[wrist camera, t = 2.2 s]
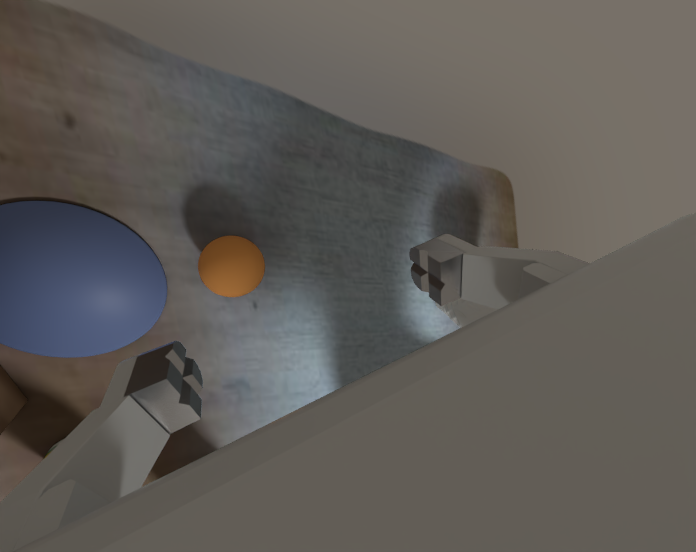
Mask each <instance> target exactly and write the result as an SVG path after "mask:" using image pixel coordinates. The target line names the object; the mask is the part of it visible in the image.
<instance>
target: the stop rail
mask: <svg viewBox="0 0 696 552" xmlns="http://www.w3.org/2000/svg"><path fill="white" fill-rule="evenodd" d="M27 401H28V400H27V399H26V397H25V396H24V395H23V393H22V392H21V391H20V390H19V388H18V387H17V386H16V385H15V383H14V382H13V381H12V379H11V378H10V377H9V376H8V374H7V373H6V372H5V370H4V369H3V368H2V367H1V365H0V434H1V433H2V432H3V431H4V430H5V428H6V427H7V426H8V425H9V423H10V422H11V421H12V420H13V418H14V417H15V416H16V415H17V413H18V412H19V411H20V410H21V408H22V407H23V406H24V405H25V403H26V402H27Z"/></svg>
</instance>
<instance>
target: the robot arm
mask: <svg viewBox="0 0 696 552" xmlns="http://www.w3.org/2000/svg"><path fill="white" fill-rule="evenodd" d="M410 259H411V260H412V261H413V262H414V263H413V265H412V267H411V276H412V279H413V281H414V283H415V285H416V286H417V287H418V288H419V289H420V290H421V291H425V292H429V297H430V298H431V299H433V300H434V301H435V302H436V303H438V304H439V305H440V306H443V305H446V304H448V303H450V302H453V301H455V300H457V299H459V298H461V299H463V300H467V301H470V302H474V303H477V304H480V305H484V306H487V307H490V308H494V309H497V310H496V311H494V312H492V313H490V314H488V315H486V316H484V317H482V318H480V319H478V320H476V321H474V322H472V323H470V324H468V325H466V326H464V327H462V328H460V329H458V330H456V331H454V332H452V333H450V334H448V335H446V336H444V337H442V338H440V339H438V340H436V341H434V342H432V343H430V344H428V345H426V346H424V347H422V348H420V349H418V350H416V351H414V352H412V353H410V354H408V355H406V356H404V357H402V358H400V359H398V360H396V361H394V362H392V363H390V364H388V365H386V366H384V367H382V368H380V369H378V370H376V371H374V372H372V373H370V374H368V375H366V376H364V377H362V378H360V379H358V380H356V381H353V382H351V383H349V384H347V385H345V386H343V387H341V388H339V389H337V390H335V391H333V392H331V393H329V394H327V395H325V396H323V397H321V398H319V399H317V400H315V401H313V402H311V403H309V404H307V405H305V406H303V407H301V408H299V409H297V410H295V411H293V412H291V413H289V414H287V415H285V416H283V417H281V418H279V419H278V420H276V421H274V422H272V423H270V424H268V425H266V426H264V427H262V428H260V429H258V430H256V431H254V432H252V433H250V434H248V435H246V436H244V437H242V438H240V439H238V440H236V441H234V442H232V443H230V444H228V445H226V446H224V447H222V448H220V449H218V450H216V451H214V452H212V453H210V454H208V455H206V456H204V457H202V458H200V459H198V460H196V461H194V462H192V463H190V464H188V465H186V466H184V467H182V468H180V469H177V470H175V471H173V472H171V473H169V474H167V475H165V476H163V477H161V478H159V479H157V480H155V481H153V482H151V483H149V484H147V485H145V486H143V487H141V486H142V485H143V483H144V481H145V479H146V477H147V476H148V474H149V472H150V470H151V469H152V467H153V465H154V463H155V462H156V460H157V458H158V456H159V455H160V453H161V451H162V449H163V448H164V446H165V444H166V442H167V440H168V439H169V437H170V435H169V434H171V433H173V432H175V431H177V430H179V429H181V428H183V427H185V426H187V425H189V424H191V423H193V422H195V421H197V420H199V419H201V407H202V399H201V398H200V397H199V395H198V394H199V392H200V391H201V389H202V388H203V380H202V375H201V371H200V369H199V367H198V365H197V364H196V362H195V361H194V359H190V358H187V357H186V349H185V347H184V346H183V345H182V344H181V342H179V341H174V342H171V343H169V344H166V345H163V346H161V347H158V348H155V349H153V350H150V351H147V352H145V353H142V354H140V355H136V356H134V357H131V358H129V359H126V360H124V361H122V362H120V363H119V364H118V365H117V367H116V370H115V372H114V375H113V377H112V379H111V382H110V384H109V387H108V389H107V391H106V394H105V396H104V398H103V401H102V403H101V406H100V408H98V409H95V410H93V411H92V412H91V413H90V414H89V415H88V416H87V417H86V418H85V419H84V420H83V421H82V422H81V423H80V424H79V425H78V426H77V427H76V428H75V429H74V430H73V431H72V432H71V433H70V434H69V435H68V436H67V437H66V438H65V439H64V440H63V441H62V442H61V443H60V444H59V445H58V446H57V447H56V448H55V449H54V450H53V451H52V452H51V453H50V454H49V455H48V456H47V457H46V458H45V459H44V460H43V461H42V462H41V463H40V464H39V465H38V466H37V467H36V468H35V469H34V470H33V471H32V472H31V473H30V474H29V475H28V476H27V477H26V478H25V479H24V480H23V481H22V482H21V483H20V484H19V485H17V486H16V487H15V488H14V489H13V490H12V491H11V492H10V493H9V494H8V495H7V496H6V497H5V498H4V499H3V500H2V501H1V502H0V552H696V213H695V214H690V215H687V216H684V217H681V218H679V219H677V220H675V221H673V222H671V223H669V224H668V225H666V226H664V227H662V228H660V229H658V230H656V231H654V232H652V233H650V234H648V235H646V236H644V237H642V238H640V239H638V240H636V241H634V242H632V243H630V244H628V245H626V246H624V247H622V248H620V249H618V250H616V251H614V252H612V253H610V254H608V255H606V256H604V257H602V258H600V259H598V260H596V261H594V262H592V263H588V262H585V261H582V260H580V259H577V258H574V257H572V256H569V255H566V254H563V253H561V252H558V251H548V250H533V249H519V248H504V247H490V246H481V247H476V246H474V245H472V244H470V243H468V242H466V241H463V240H461V239H459V238H457V237H455V236H452V235H450V234H443V235H441V236H438V237H436V238H434V239H432V240H429V241H427V242H425V243H422V244H420V245H418V246H415V247H413V248H411V249H410Z"/></svg>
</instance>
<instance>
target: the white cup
mask: <svg viewBox="0 0 696 552" xmlns="http://www.w3.org/2000/svg"><path fill="white" fill-rule="evenodd" d="M435 303H436V302H435ZM436 306H437V307H438V308H439V309H440V310H442V311H443V312H444V313H445V314H446V315H447V316H449V318H450V319H451V320H452V321H453V322H454V323H455V324H457V325H458V326H459V327H460V328H462V327H464V326H466V325H468V324H470V323H472V322H474V321H476V320H478V319H480V318H482V317H484V316H486V315H488V314H490V313H492V312H494V311H496V310H497V309H494V308H490V307H487V306H484V305H480V304H477V303H474V302H470V301H467V300H463V299H461V298H459V299H457V300H455V301H453V302H450V303H448V304H446V305H443V306H440V305H439V304H438V303H436Z"/></svg>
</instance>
